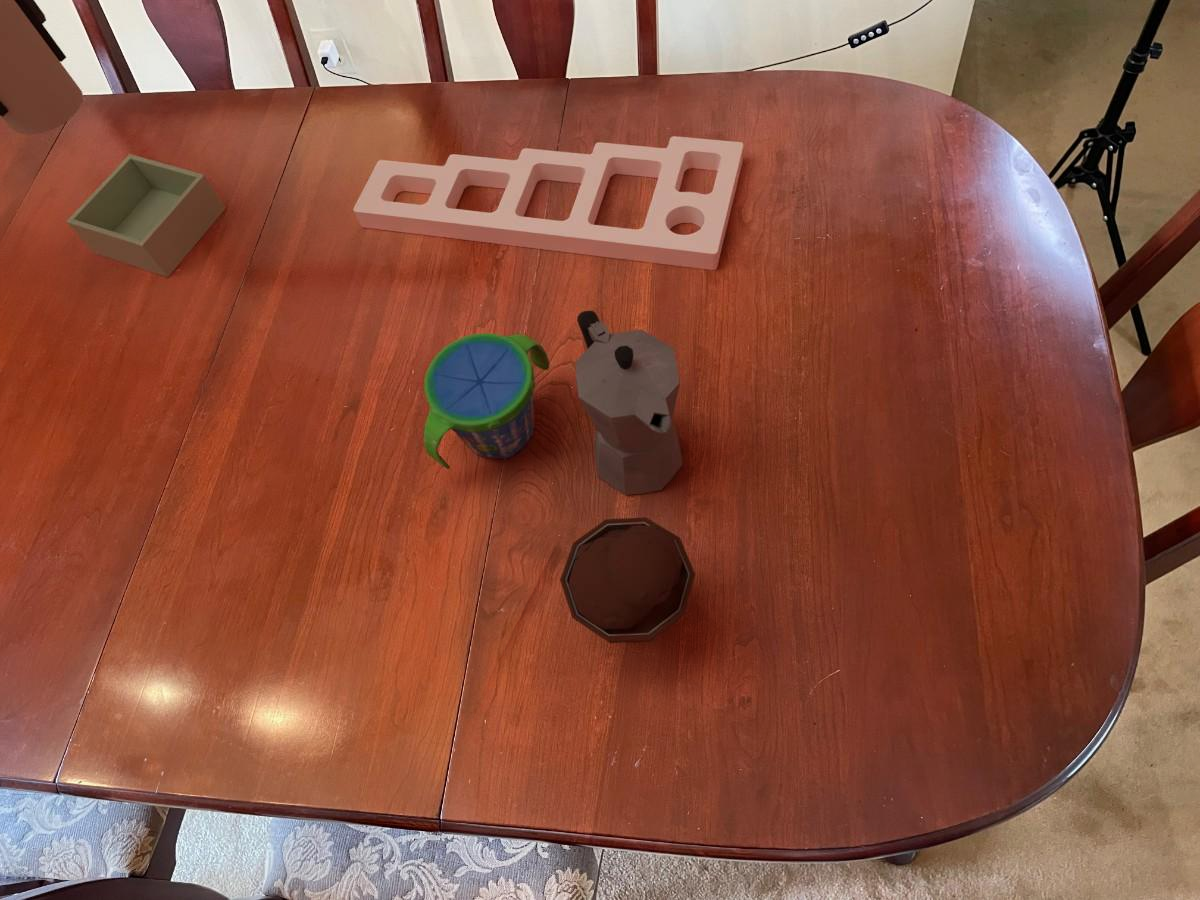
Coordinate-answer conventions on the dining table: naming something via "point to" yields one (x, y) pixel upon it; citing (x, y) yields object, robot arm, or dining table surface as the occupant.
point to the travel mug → (32, 77)
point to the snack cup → (483, 394)
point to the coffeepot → (629, 405)
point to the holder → (579, 228)
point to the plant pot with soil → (627, 580)
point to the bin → (147, 214)
